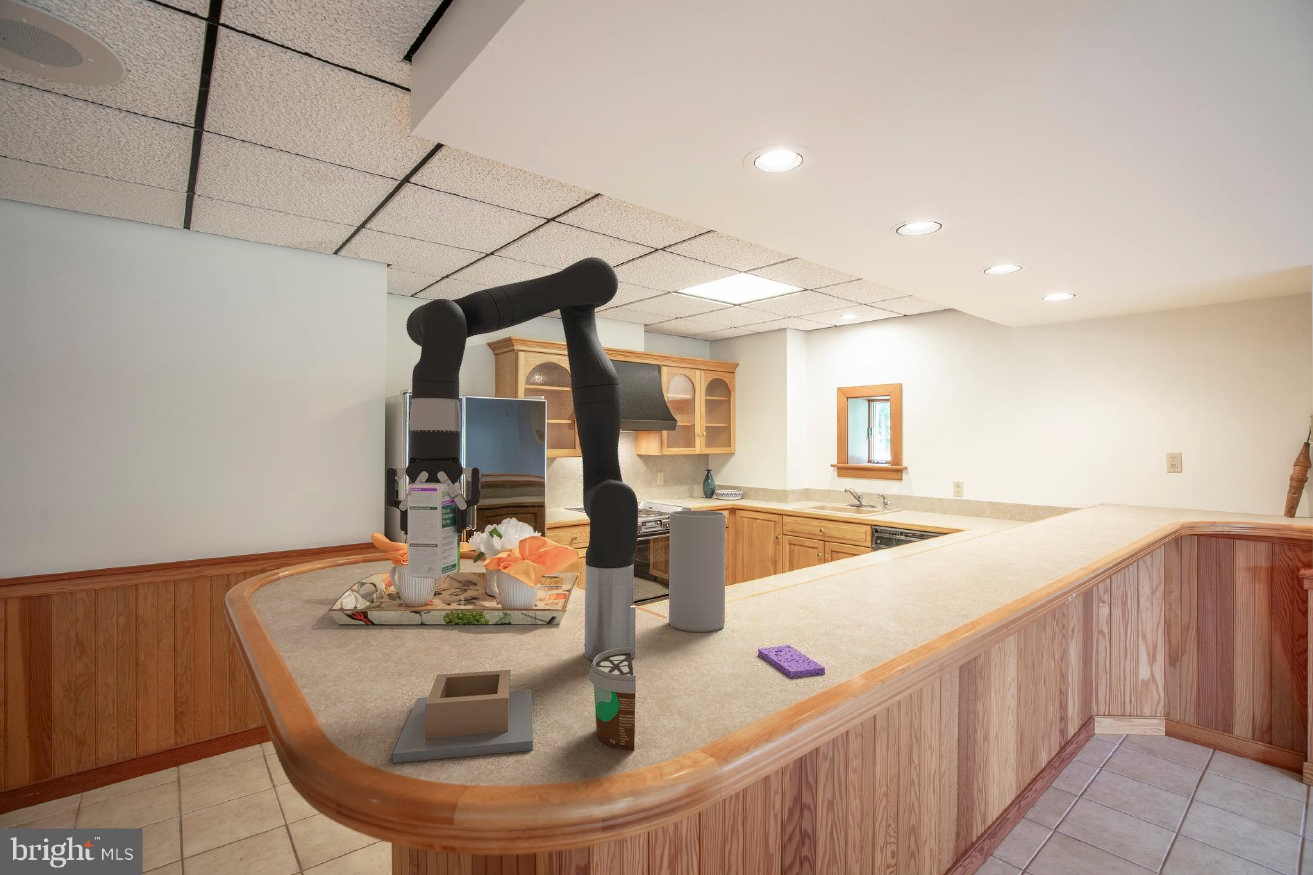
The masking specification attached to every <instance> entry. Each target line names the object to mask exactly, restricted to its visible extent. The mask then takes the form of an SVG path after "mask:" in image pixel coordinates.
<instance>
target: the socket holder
mask: <svg viewBox="0 0 1313 875" xmlns="http://www.w3.org/2000/svg"><path fill="white" fill-rule="evenodd" d="M511 671H512V670H511V669H502V670H500V669H499V670H485V671H484V670H483V671H472V672H471V671H470V672H468V671H467V672H455V673H454V672H453V673H440V674H438V673H437V674H436V677H435V678H434V682H433V684H432V687H431V690H430V692H429V695H428V696H426V697H417V698H416V700H415V702H414V705H413V706H412V709H411V711H410V714H409V716H408V717H407V718H408V719H407V720H406V723H405V725H404V728H403V730H402V732H401V734H400V737H399V739H398V742H397V743H396V745H395V747H394V749H393V750H394V751H393V753H392V763H393V764H397V763H407V762H409V763H411V762H421V761H430V760H440V759H441V760H442V759H451V758H453V759H454V758H462V757H463V758H464V757H472V756H483V755H486V756H487V755H494V754H496V755H497V754H505V753H517V752H527V751H533V750H534V749H533V748H534V738H533V737H534V732H533V731H534V728H533V725H534V721H533V690H532V689H525V690H511Z"/></svg>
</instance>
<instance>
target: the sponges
mask: <svg viewBox="0 0 1313 875" xmlns="http://www.w3.org/2000/svg"><path fill="white" fill-rule="evenodd" d="M757 652H758V653H757V655H758V656H759V657H760V658H762V659H763V660H764V661H766V662H768V664H770V665H772V666H773V667H774V668H776V669H777V670H779V671H780V672H781V673H783V674H785V676H786V677H788V678H793V679H797V678H798V679H799V678H805V677H810V676H818V675H819V676H821V675H825V674H826V668H825V666H823V665H822V664H821V663H818V662H817V661H815V660H814V659H812V658H810V657H809V656H808V655H806V654H803V653H802V652H801V651H799V650H798V649H796V648H795V647H793V646H792V645H790V644H784V645H783V644H782V645H778V646H775V645H774V646H770V647H761V648H760V647H759V648H757Z"/></svg>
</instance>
